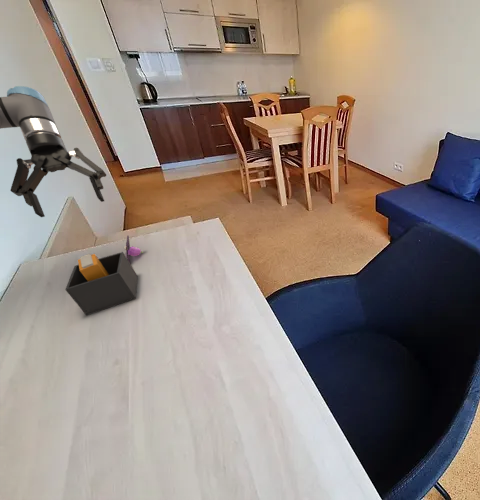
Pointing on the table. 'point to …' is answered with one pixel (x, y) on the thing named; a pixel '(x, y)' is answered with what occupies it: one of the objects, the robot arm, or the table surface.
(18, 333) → the table surface
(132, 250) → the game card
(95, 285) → the bin
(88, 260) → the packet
